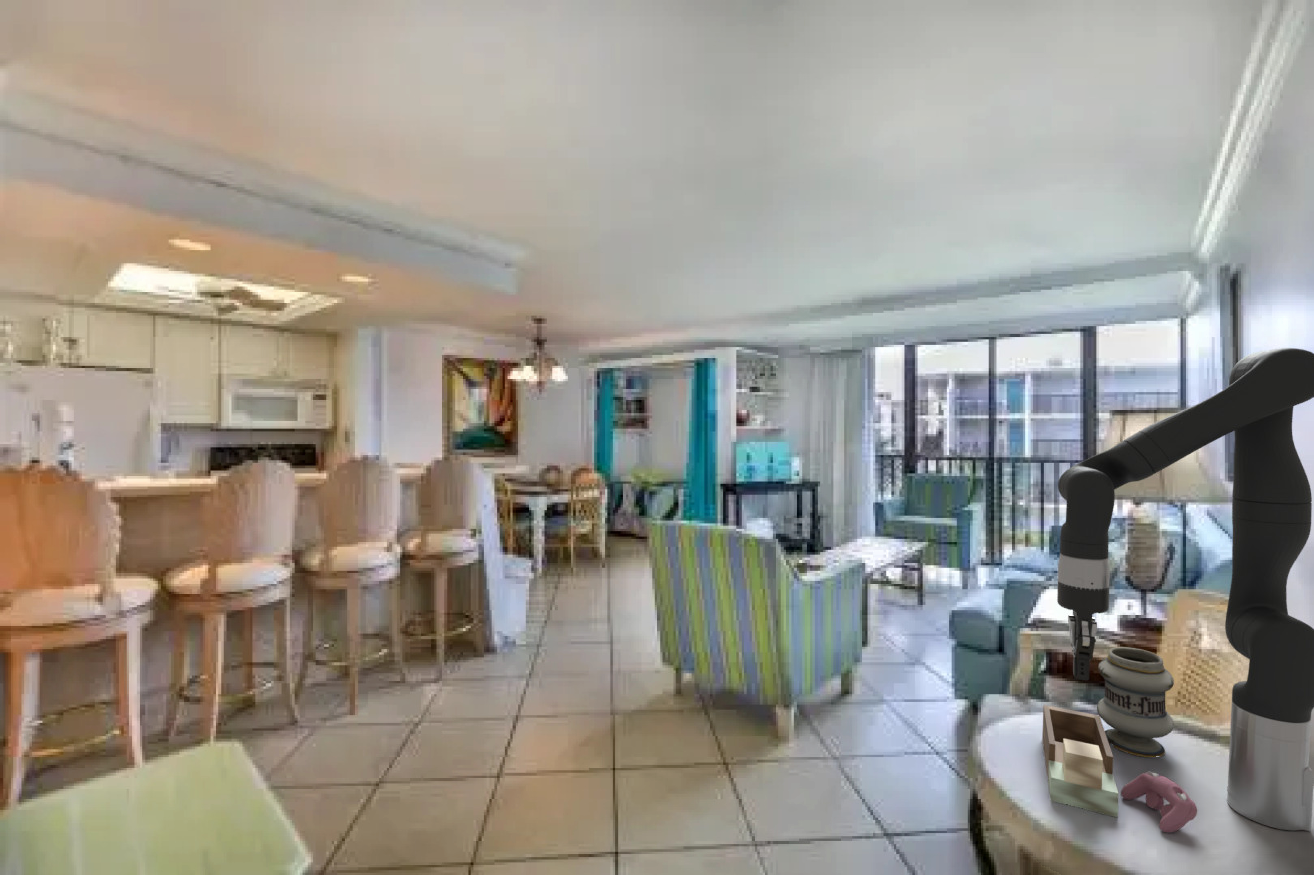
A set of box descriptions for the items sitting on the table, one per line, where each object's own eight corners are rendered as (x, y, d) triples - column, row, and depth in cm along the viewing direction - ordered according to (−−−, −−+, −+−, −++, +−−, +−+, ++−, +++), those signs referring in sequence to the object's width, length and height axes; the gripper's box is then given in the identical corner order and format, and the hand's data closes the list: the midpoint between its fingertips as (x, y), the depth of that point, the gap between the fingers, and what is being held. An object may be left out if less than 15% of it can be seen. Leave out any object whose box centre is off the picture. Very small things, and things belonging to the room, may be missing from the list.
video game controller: (1187, 845, 98) (1209, 806, 98) (1161, 831, 98) (1183, 792, 98) (1139, 805, 108) (1159, 769, 108) (1115, 793, 108) (1135, 757, 108)
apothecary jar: (1080, 731, 130) (1083, 644, 129) (1130, 726, 132) (1134, 641, 131) (1135, 764, 118) (1139, 668, 117) (1189, 757, 120) (1193, 664, 119)
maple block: (1097, 774, 107) (1098, 745, 107) (1101, 790, 103) (1102, 760, 103) (1062, 766, 110) (1063, 738, 109) (1065, 781, 105) (1066, 752, 105)
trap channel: (1098, 751, 122) (1099, 715, 122) (1117, 817, 102) (1119, 775, 102) (1042, 739, 126) (1043, 704, 126) (1050, 800, 107) (1051, 760, 106)
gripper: (1115, 593, 104) (1112, 697, 104) (1103, 574, 115) (1101, 668, 116) (1061, 587, 107) (1058, 688, 108) (1054, 570, 119) (1053, 661, 119)
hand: (1081, 678), depth 112 cm, fingers closed
